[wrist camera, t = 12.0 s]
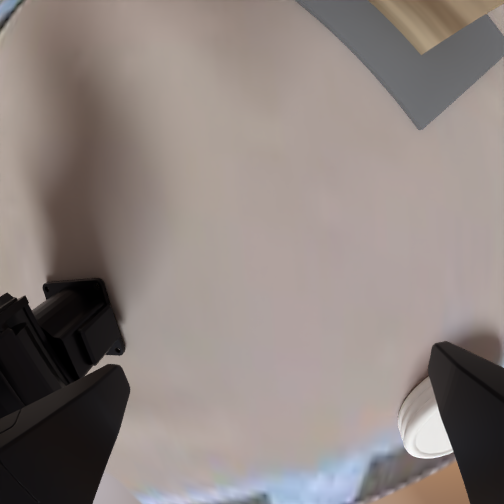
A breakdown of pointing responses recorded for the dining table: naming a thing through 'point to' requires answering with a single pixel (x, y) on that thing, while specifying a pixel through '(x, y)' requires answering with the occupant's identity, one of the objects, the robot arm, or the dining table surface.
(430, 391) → the white short cylinder
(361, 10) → the charcoal mat
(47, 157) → the dining table surface
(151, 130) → the dining table surface
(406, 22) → the beech block
